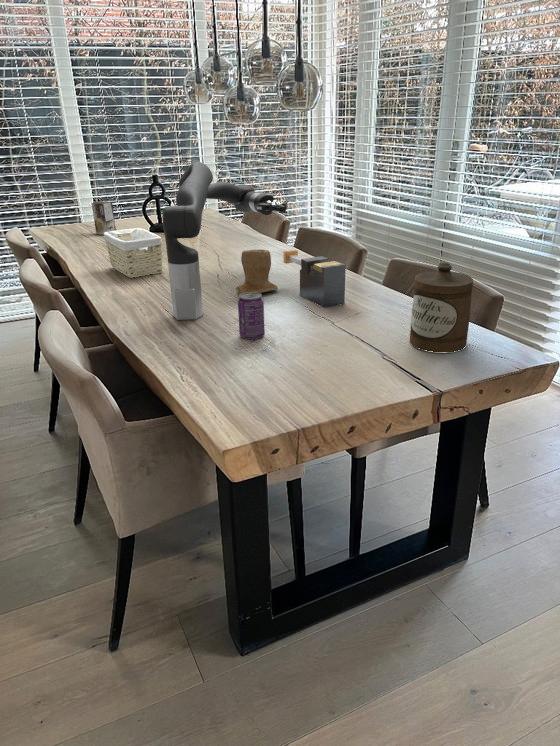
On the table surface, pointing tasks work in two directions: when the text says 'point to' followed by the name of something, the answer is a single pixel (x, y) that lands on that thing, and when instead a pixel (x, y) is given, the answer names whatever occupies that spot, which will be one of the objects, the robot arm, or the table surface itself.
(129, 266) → the storage basket
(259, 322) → the beverage can
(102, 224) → the coffee box
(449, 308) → the wooden container
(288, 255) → the sliding latch bolt
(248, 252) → the stone cup
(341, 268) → the latch bracket
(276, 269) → the table surface
